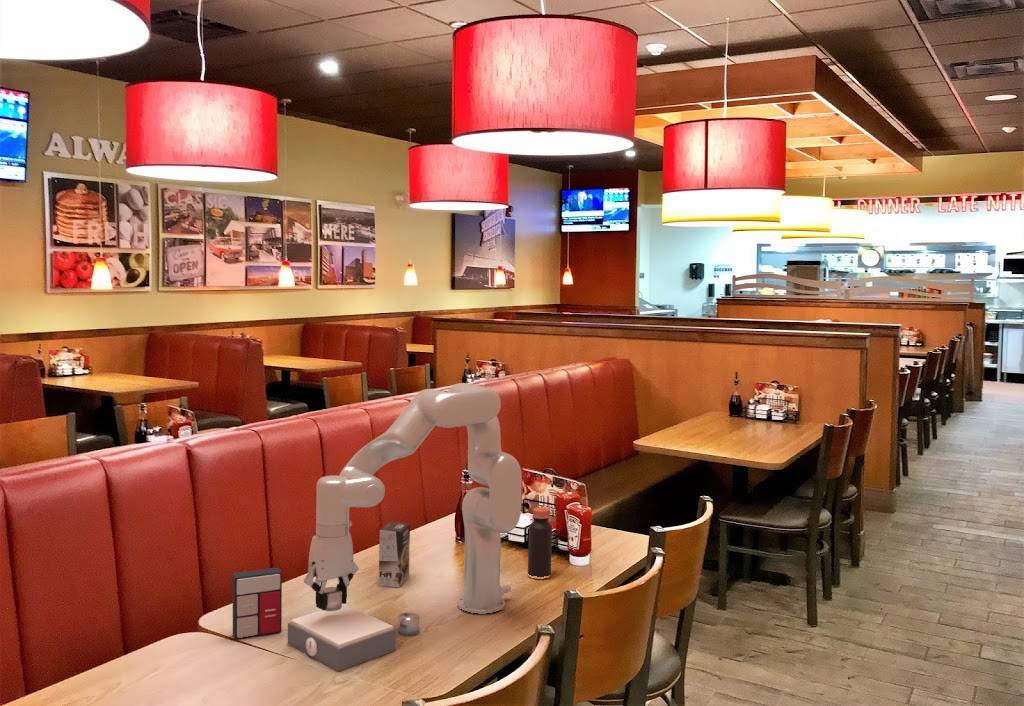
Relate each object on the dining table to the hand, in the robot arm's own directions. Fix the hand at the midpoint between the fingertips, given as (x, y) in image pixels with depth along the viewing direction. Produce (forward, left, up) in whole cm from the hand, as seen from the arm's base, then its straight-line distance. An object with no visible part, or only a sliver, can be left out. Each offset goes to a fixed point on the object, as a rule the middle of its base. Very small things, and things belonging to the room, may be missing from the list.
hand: (331, 604), depth 205 cm
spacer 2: (-17, +8, -9) cm, 21 cm away
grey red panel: (+10, -16, -9) cm, 21 cm away
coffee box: (-37, -22, -9) cm, 44 cm away
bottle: (-71, +3, -9) cm, 72 cm away
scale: (0, +4, -9) cm, 10 cm away
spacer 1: (0, 0, -1) cm, 1 cm away
